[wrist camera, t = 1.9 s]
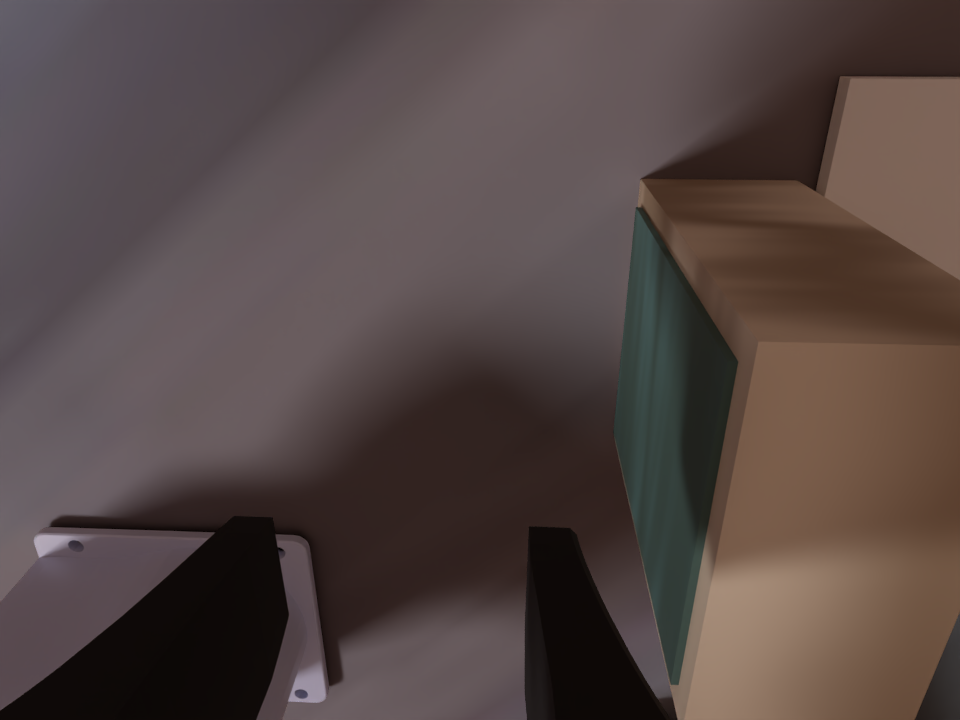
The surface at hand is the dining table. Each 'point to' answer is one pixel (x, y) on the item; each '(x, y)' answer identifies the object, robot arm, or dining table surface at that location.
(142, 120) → the dining table surface
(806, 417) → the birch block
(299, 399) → the dining table surface
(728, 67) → the dining table surface
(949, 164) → the beige mat
